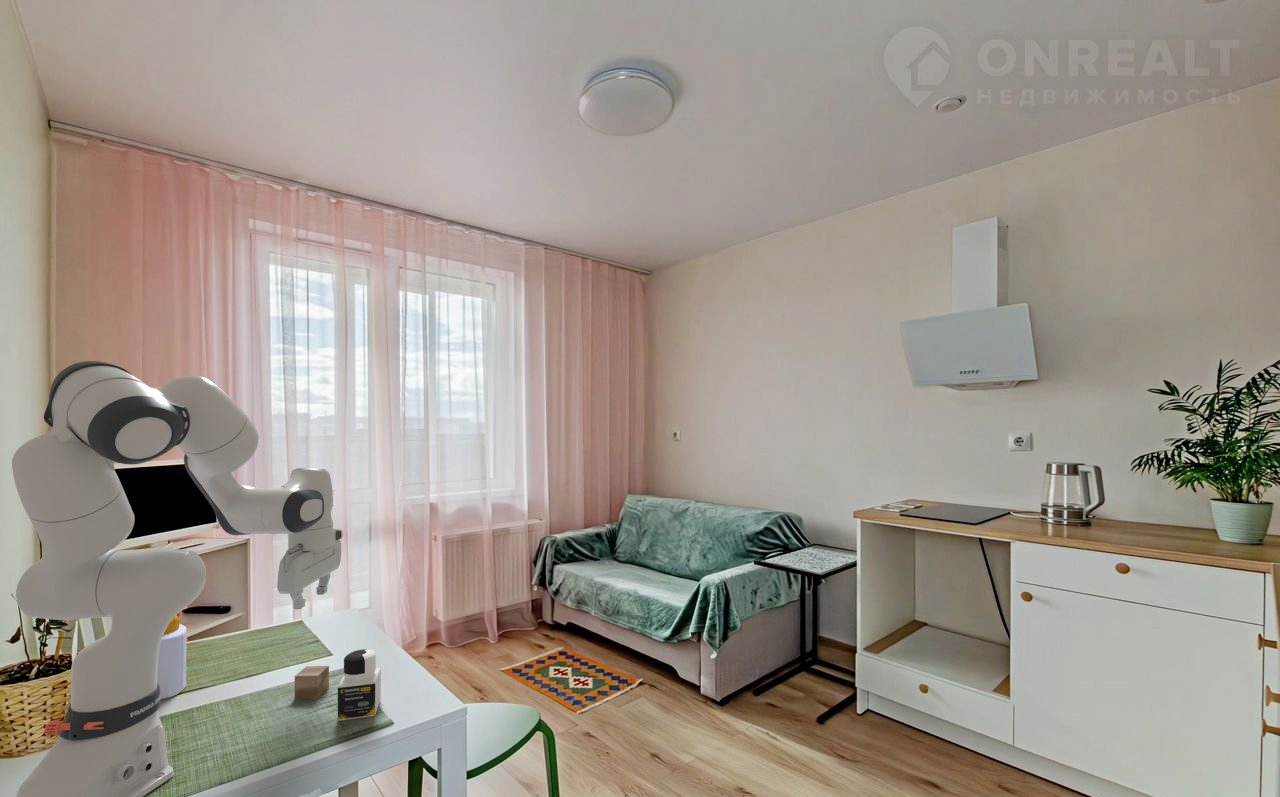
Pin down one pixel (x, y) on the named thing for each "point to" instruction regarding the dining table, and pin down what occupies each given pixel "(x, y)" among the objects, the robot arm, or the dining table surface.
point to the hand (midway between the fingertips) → (311, 600)
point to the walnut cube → (311, 682)
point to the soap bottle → (172, 659)
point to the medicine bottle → (359, 686)
